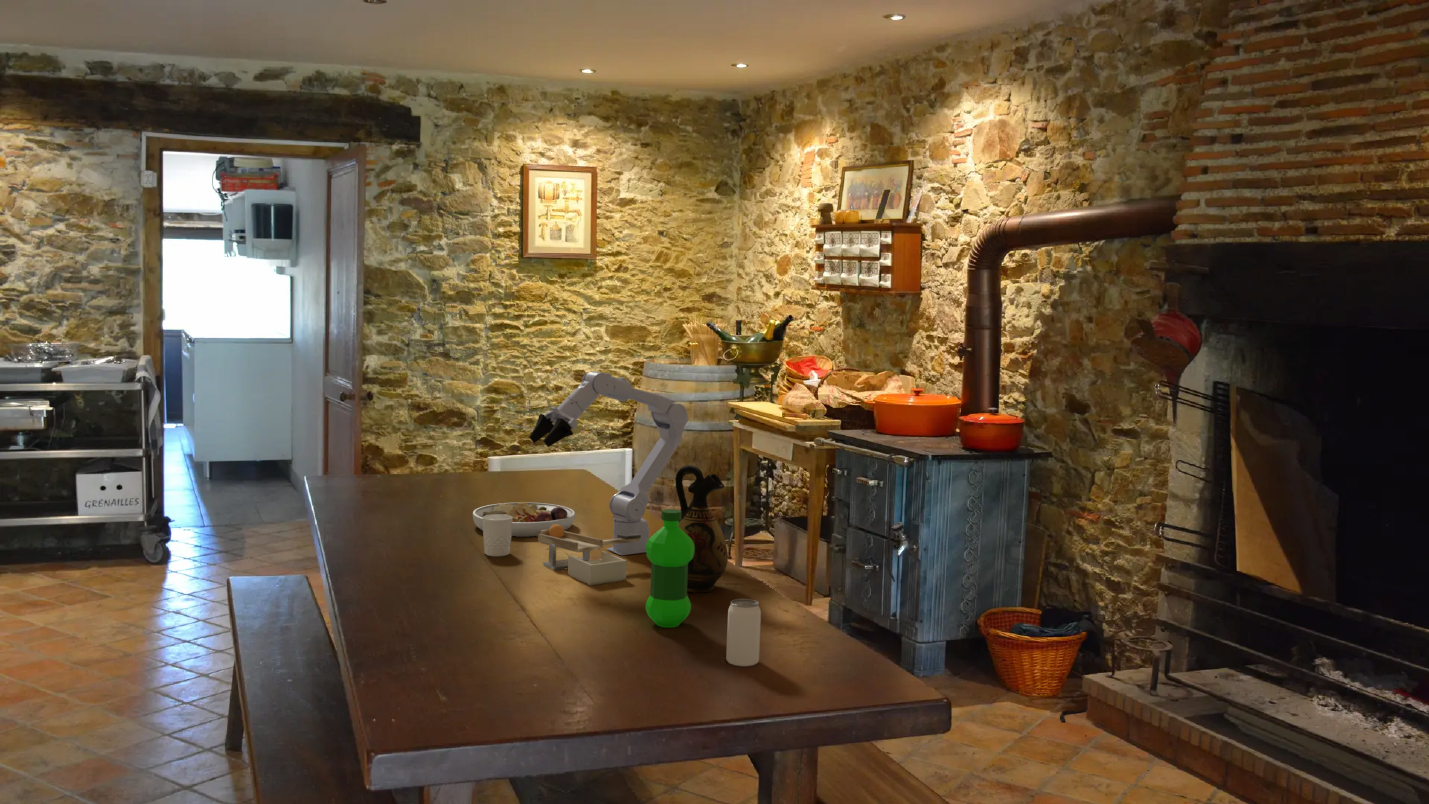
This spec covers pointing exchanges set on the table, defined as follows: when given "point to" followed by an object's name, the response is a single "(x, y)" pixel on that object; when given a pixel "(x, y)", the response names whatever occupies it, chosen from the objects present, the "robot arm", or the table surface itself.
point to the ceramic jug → (702, 531)
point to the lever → (583, 541)
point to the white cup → (497, 534)
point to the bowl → (528, 516)
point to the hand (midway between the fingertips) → (538, 442)
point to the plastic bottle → (669, 571)
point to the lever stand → (561, 563)
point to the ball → (556, 531)
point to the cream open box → (598, 569)
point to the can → (743, 633)
